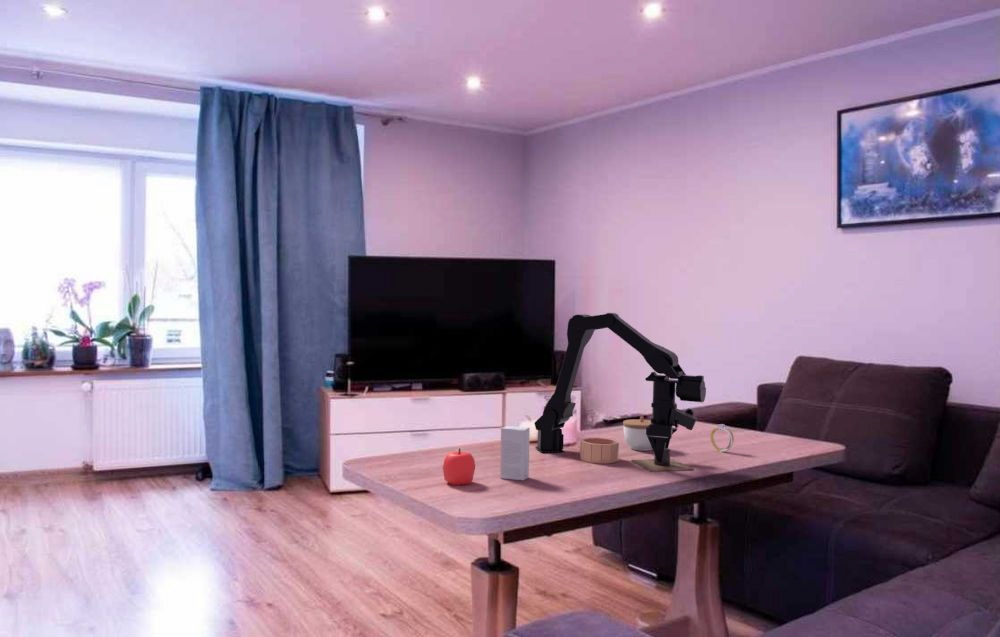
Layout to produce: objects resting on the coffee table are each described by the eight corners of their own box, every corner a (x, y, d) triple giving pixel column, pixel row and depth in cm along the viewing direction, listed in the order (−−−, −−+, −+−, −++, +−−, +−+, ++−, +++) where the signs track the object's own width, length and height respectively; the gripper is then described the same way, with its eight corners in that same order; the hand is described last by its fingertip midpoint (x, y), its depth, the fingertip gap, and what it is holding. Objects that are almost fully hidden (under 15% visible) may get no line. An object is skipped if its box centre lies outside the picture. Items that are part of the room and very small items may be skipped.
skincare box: (529, 477, 177) (530, 427, 177) (523, 481, 173) (525, 430, 173) (505, 474, 179) (506, 425, 179) (499, 478, 175) (500, 428, 175)
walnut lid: (650, 474, 186) (651, 454, 186) (631, 463, 198) (631, 444, 198) (693, 472, 189) (694, 453, 189) (672, 462, 201) (672, 444, 201)
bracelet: (708, 450, 216) (709, 422, 216) (715, 449, 218) (716, 422, 218) (727, 454, 211) (728, 426, 210) (735, 453, 212) (736, 425, 212)
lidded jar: (663, 452, 211) (664, 420, 210) (625, 451, 211) (626, 419, 211) (655, 445, 221) (656, 414, 221) (620, 444, 221) (620, 413, 221)
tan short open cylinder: (588, 464, 193) (588, 445, 193) (575, 456, 203) (575, 437, 203) (623, 463, 196) (624, 444, 195) (609, 455, 205) (610, 437, 205)
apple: (448, 488, 165) (449, 452, 165) (436, 480, 172) (437, 445, 172) (481, 485, 168) (482, 450, 168) (468, 477, 175) (469, 444, 175)
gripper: (692, 405, 182) (690, 468, 182) (698, 397, 199) (696, 454, 200) (646, 402, 186) (644, 464, 186) (656, 394, 203) (655, 450, 204)
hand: (661, 458), depth 194 cm, fingers open, 9 cm apart
